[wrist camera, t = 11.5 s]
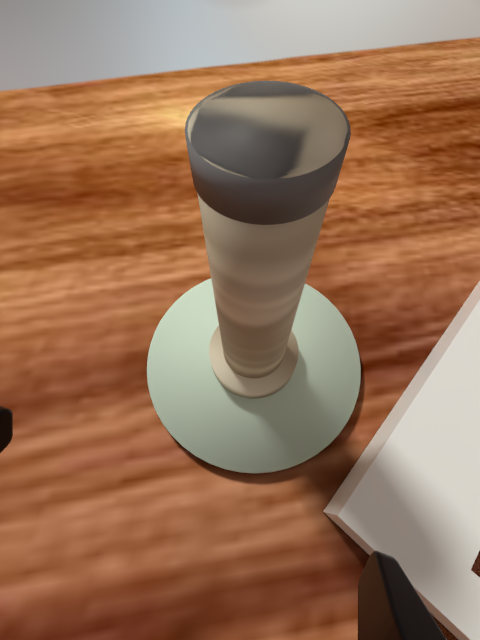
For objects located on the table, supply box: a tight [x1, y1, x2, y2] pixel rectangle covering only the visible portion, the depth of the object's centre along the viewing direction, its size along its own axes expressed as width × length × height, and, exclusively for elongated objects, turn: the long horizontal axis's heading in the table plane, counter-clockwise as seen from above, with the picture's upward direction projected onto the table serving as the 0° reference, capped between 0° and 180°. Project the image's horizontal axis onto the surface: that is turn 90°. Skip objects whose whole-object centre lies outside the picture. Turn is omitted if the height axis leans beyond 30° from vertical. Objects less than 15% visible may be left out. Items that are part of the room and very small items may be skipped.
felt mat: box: [147, 279, 361, 474], centre depth 17 cm, size 11×11×1 cm
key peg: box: [185, 81, 351, 399], centre depth 11 cm, size 4×4×12 cm
